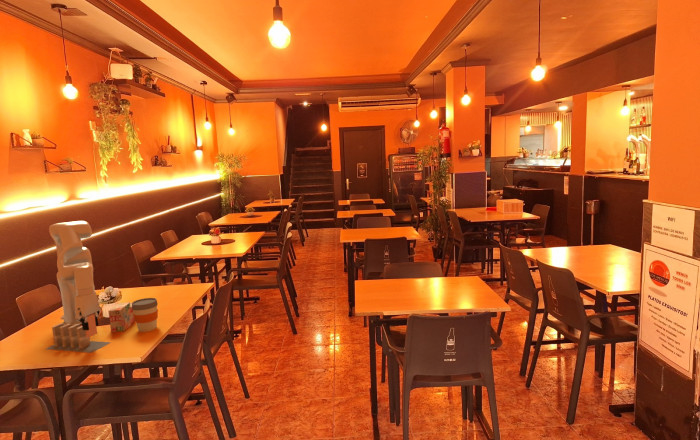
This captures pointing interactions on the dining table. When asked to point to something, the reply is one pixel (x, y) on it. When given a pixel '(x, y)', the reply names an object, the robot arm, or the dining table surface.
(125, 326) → the stack of blocks
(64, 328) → the cream domino
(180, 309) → the dining table surface
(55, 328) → the cream domino
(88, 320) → the terracotta domino
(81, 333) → the cream domino
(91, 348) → the slate mat
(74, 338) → the cream domino
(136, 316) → the reusable coffee cup
